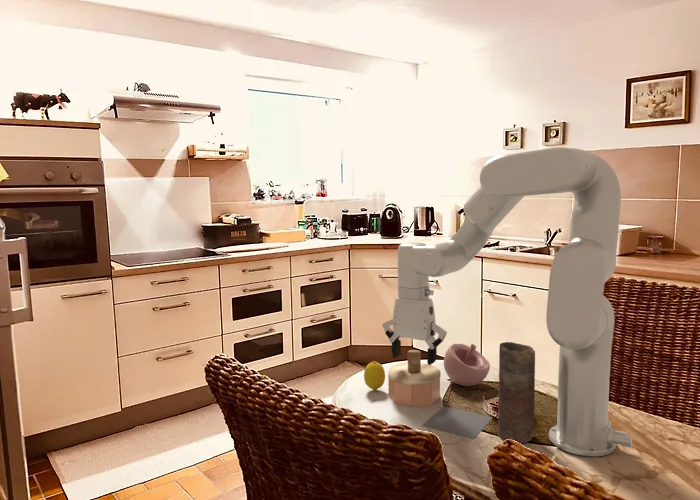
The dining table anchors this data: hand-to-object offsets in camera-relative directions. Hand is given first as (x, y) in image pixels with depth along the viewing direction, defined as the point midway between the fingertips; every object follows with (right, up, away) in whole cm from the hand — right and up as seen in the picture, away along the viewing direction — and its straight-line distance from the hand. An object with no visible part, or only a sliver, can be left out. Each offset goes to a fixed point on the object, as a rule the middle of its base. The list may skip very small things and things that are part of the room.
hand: (413, 359), depth 133 cm
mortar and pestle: (+15, -9, +9) cm, 20 cm away
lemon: (-9, -10, +6) cm, 15 cm away
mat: (+8, -12, -14) cm, 20 cm away
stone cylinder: (+19, -12, -21) cm, 31 cm away
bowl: (0, -10, +1) cm, 10 cm away
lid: (0, -4, 0) cm, 4 cm away
